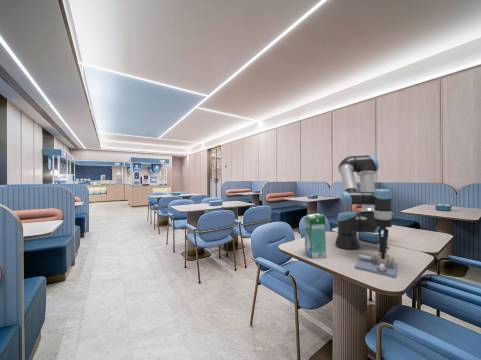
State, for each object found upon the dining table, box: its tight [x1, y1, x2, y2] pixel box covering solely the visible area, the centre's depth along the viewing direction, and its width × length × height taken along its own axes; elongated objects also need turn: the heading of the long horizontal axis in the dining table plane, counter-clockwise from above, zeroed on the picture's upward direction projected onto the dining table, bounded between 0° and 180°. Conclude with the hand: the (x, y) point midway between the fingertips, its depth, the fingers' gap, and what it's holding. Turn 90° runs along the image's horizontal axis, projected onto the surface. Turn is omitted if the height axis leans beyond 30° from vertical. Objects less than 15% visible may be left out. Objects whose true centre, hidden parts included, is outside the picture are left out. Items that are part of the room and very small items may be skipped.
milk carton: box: [304, 213, 327, 259], centre depth 125 cm, size 9×9×25 cm
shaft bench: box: [354, 253, 398, 279], centre depth 107 cm, size 17×16×4 cm
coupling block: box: [377, 252, 391, 268], centre depth 107 cm, size 5×5×6 cm
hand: (383, 262), depth 107 cm, fingers open, 5 cm apart
